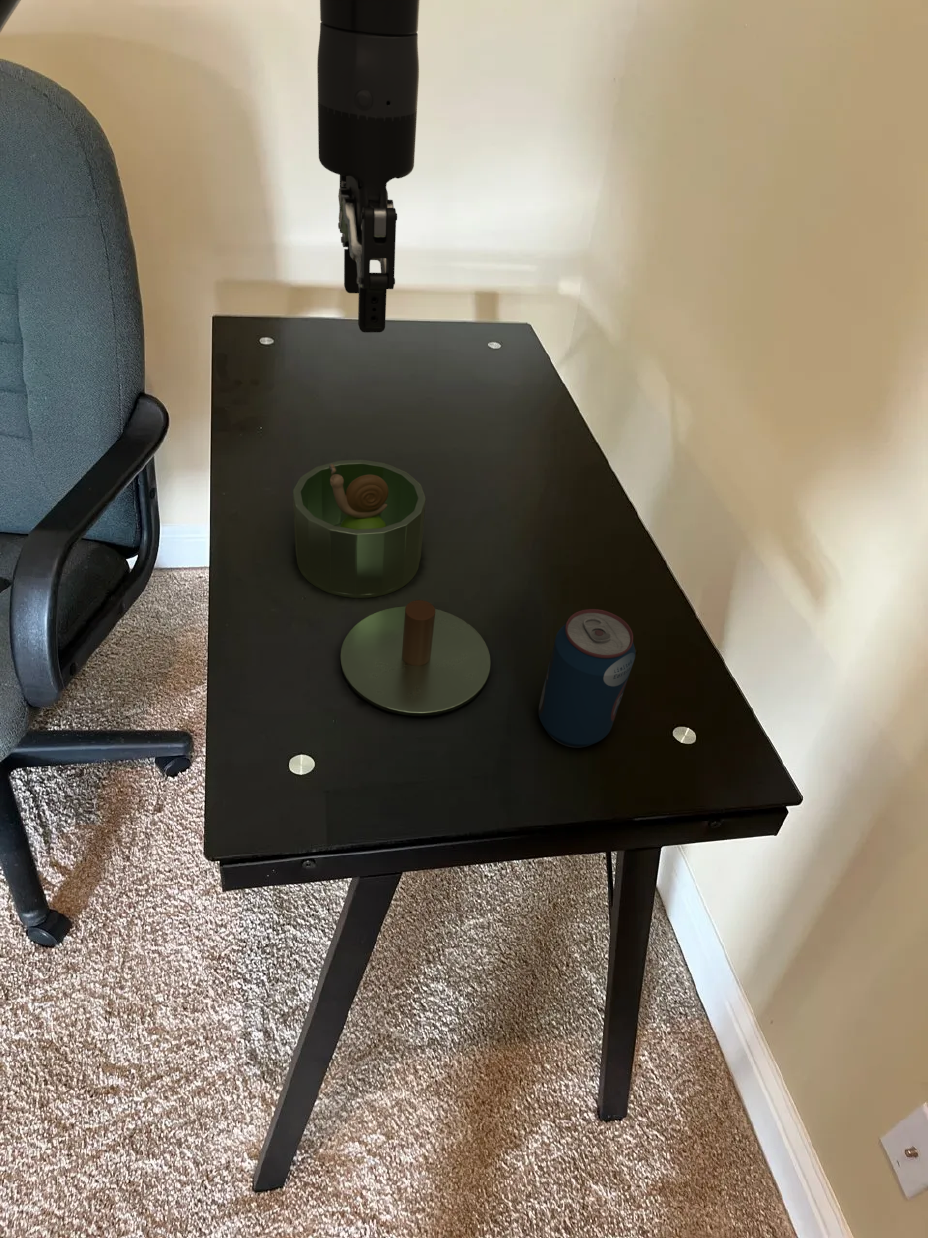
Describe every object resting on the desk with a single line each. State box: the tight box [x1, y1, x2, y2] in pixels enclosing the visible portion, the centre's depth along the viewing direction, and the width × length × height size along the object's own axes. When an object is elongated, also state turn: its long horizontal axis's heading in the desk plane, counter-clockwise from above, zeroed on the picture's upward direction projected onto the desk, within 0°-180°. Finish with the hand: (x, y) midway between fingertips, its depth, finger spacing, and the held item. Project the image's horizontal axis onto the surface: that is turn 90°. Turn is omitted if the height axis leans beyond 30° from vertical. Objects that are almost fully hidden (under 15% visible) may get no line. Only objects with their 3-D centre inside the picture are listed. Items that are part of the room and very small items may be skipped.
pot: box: [292, 459, 427, 599], centre depth 89 cm, size 14×14×8 cm
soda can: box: [537, 608, 636, 749], centre depth 73 cm, size 7×7×12 cm
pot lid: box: [339, 599, 491, 717], centre depth 79 cm, size 15×15×7 cm
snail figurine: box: [329, 464, 388, 530], centre depth 88 cm, size 5×6×12 cm
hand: (363, 310), depth 73 cm, fingers open, 8 cm apart
